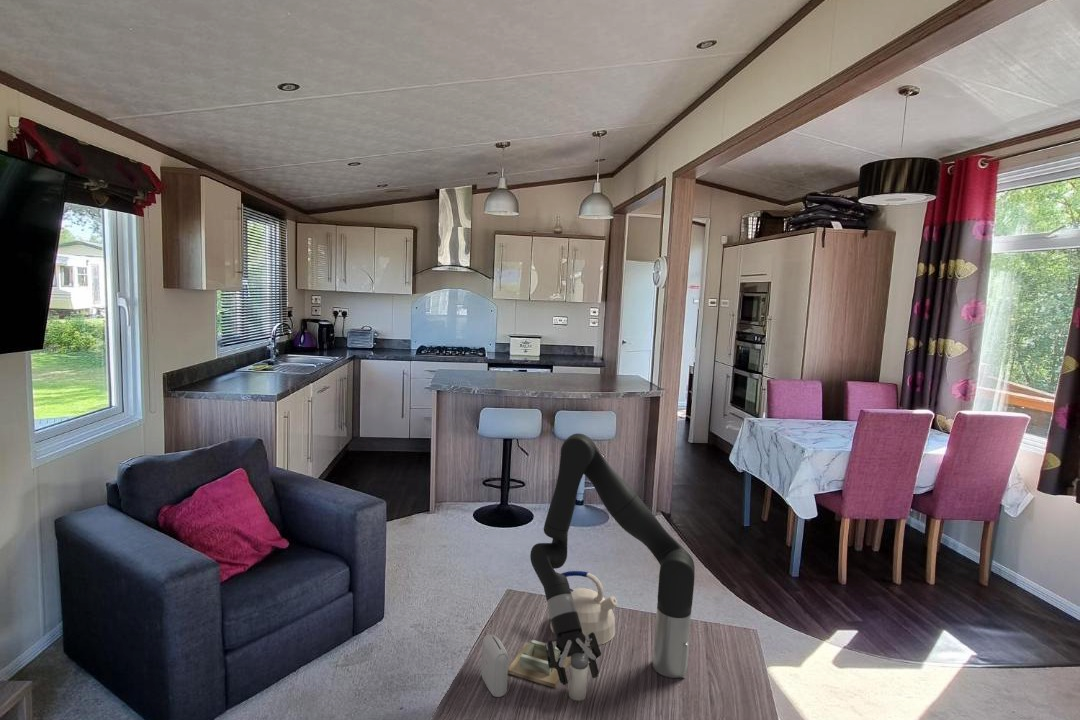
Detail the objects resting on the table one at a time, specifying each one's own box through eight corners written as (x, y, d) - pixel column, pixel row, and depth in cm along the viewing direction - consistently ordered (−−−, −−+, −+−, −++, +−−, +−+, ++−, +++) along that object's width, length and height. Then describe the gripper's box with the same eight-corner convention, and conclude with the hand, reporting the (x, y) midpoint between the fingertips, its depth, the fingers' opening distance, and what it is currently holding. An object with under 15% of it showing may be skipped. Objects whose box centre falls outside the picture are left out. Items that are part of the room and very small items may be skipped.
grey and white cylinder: (587, 692, 151) (590, 655, 150) (582, 702, 147) (585, 665, 146) (571, 687, 153) (574, 651, 152) (566, 697, 149) (568, 660, 148)
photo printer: (478, 675, 156) (480, 631, 155) (493, 671, 158) (496, 628, 156) (492, 699, 147) (495, 653, 145) (508, 695, 149) (511, 649, 147)
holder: (572, 658, 165) (573, 645, 165) (555, 687, 152) (556, 673, 152) (526, 645, 170) (527, 632, 170) (506, 672, 157) (507, 658, 157)
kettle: (603, 655, 168) (607, 595, 166) (538, 634, 177) (541, 577, 175) (624, 622, 186) (628, 567, 184) (565, 604, 195) (568, 552, 193)
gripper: (544, 615, 152) (560, 683, 143) (592, 606, 158) (610, 671, 149) (535, 623, 158) (550, 690, 148) (581, 615, 163) (599, 678, 154)
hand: (580, 680), depth 149 cm, fingers open, 8 cm apart
